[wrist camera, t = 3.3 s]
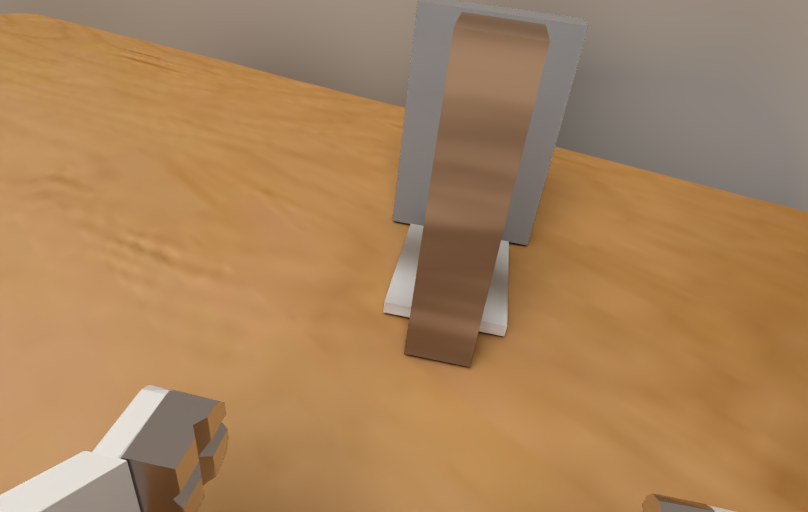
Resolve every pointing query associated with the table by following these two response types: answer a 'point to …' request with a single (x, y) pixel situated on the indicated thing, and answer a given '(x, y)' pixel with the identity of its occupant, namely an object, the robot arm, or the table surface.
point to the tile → (426, 98)
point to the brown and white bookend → (470, 190)
